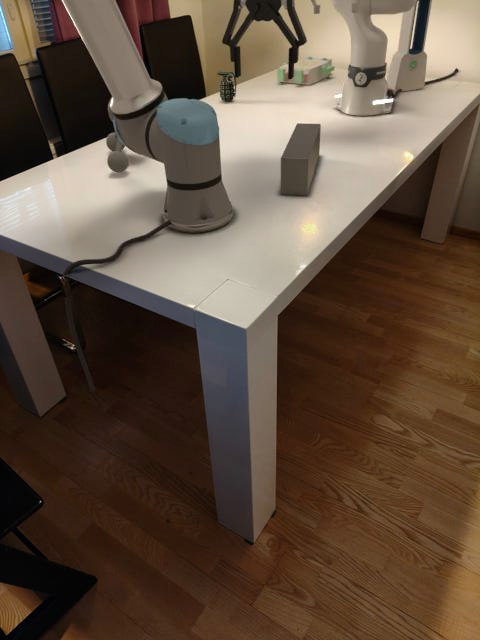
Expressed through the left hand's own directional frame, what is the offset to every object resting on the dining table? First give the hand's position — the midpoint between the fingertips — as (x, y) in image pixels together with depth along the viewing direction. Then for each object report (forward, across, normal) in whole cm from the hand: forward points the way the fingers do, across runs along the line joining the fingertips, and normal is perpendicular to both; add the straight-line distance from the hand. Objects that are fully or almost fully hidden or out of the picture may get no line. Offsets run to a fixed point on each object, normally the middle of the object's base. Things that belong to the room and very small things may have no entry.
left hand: (264, 77), depth 120 cm
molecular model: (+21, +35, +4) cm, 41 cm away
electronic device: (+19, -32, -85) cm, 92 cm away
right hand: (-12, -14, -19) cm, 26 cm away
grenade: (+20, +31, -58) cm, 69 cm away
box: (+21, -12, +7) cm, 25 cm away
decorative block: (+19, +10, -97) cm, 100 cm away
